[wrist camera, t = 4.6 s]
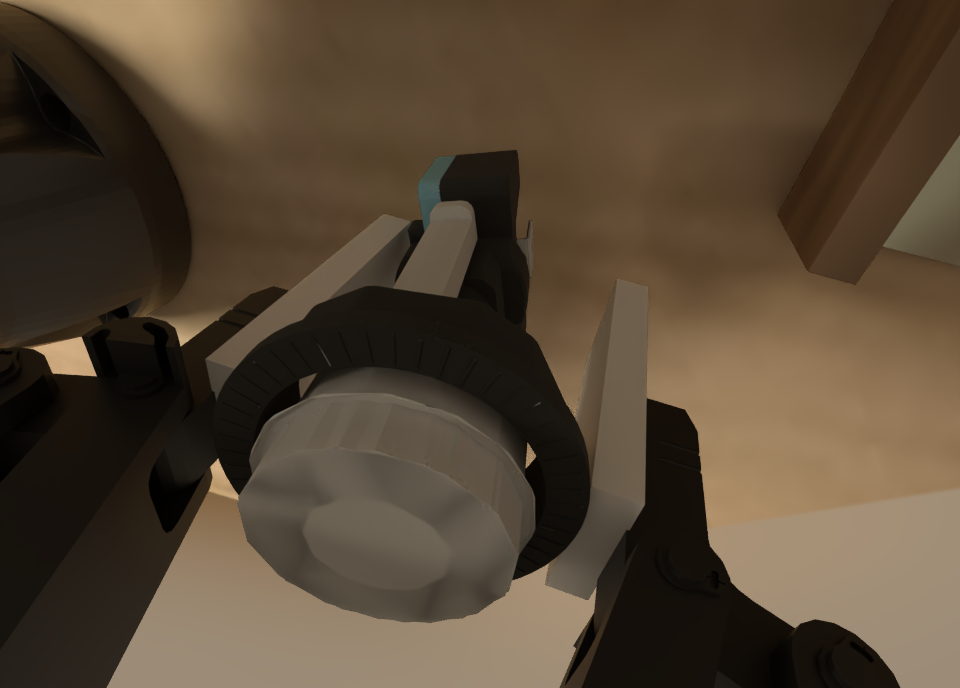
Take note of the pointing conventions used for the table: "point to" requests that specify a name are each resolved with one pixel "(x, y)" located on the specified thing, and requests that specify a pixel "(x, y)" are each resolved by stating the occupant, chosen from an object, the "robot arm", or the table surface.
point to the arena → (887, 152)
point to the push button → (412, 422)
